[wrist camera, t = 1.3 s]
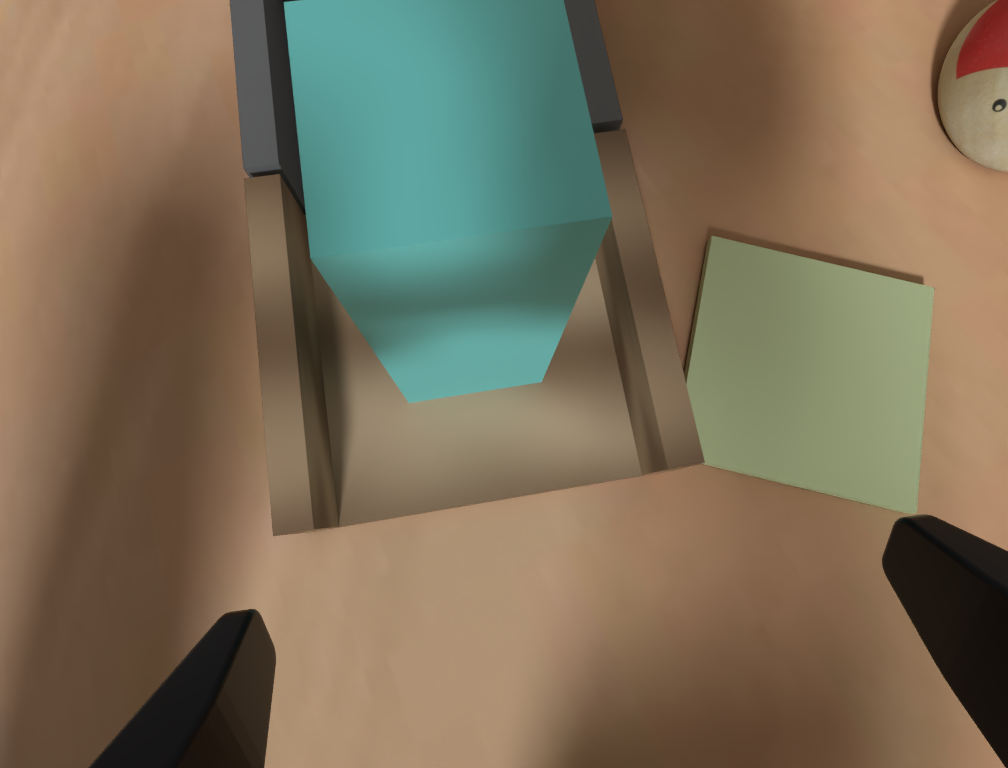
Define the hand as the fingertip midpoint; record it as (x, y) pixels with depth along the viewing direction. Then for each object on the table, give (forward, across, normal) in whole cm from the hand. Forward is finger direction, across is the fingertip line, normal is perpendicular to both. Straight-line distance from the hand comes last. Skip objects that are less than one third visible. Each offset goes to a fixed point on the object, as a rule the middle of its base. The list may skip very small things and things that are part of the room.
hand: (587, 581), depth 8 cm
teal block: (+15, +1, +3) cm, 15 cm away
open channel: (+15, +1, +3) cm, 15 cm away
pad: (+13, -12, +5) cm, 18 cm away
